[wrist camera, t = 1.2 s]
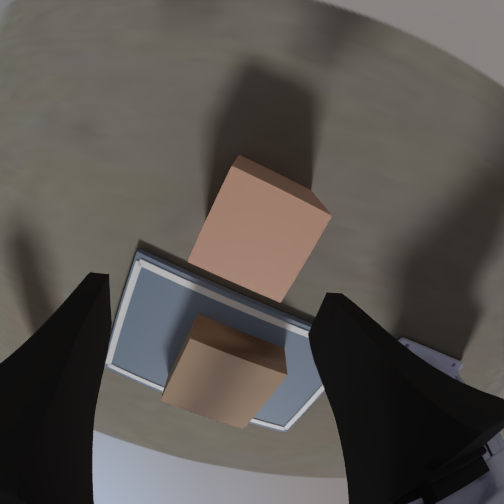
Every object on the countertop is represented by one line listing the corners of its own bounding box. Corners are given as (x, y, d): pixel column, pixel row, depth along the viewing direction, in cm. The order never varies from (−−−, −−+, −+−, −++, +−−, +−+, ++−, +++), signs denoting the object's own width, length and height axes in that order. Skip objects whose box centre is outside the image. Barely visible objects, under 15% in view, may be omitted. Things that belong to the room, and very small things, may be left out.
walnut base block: (284, 348, 24) (287, 374, 21) (244, 402, 26) (243, 428, 23) (197, 313, 23) (190, 338, 20) (168, 374, 25) (160, 400, 22)
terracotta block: (311, 190, 20) (332, 215, 14) (274, 256, 22) (280, 302, 16) (238, 154, 19) (231, 165, 14) (205, 224, 21) (187, 261, 15)
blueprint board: (358, 342, 24) (361, 347, 24) (284, 427, 28) (285, 433, 28) (139, 248, 21) (136, 252, 21) (105, 362, 26) (102, 366, 25)
